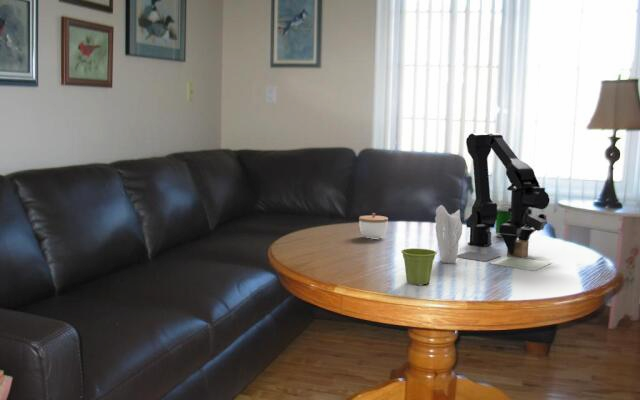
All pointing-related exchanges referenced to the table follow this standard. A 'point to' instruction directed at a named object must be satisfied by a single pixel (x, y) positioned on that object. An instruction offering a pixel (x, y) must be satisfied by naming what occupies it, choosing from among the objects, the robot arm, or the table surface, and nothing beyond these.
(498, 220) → the soda can
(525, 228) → the robot arm
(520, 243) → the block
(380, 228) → the lidded jar
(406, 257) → the plant pot
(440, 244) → the shell sculpture
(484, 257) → the mat
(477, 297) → the table surface
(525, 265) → the mat
